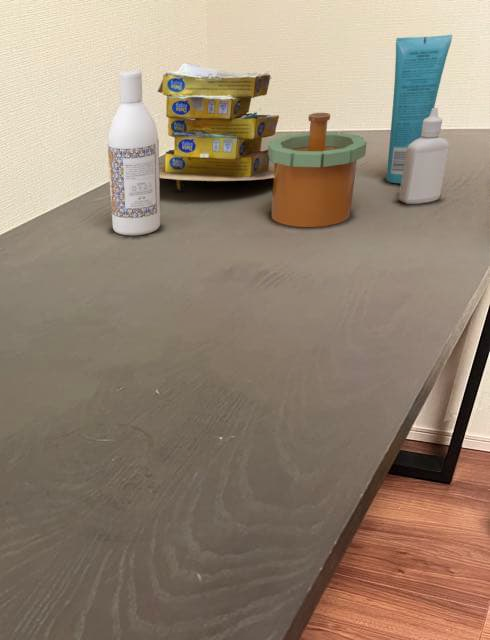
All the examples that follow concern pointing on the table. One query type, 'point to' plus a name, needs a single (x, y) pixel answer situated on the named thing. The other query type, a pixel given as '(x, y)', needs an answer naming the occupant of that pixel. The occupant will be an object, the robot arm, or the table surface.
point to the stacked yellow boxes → (215, 125)
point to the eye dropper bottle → (425, 164)
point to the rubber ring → (349, 152)
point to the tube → (413, 93)
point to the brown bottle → (313, 186)
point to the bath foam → (133, 162)
